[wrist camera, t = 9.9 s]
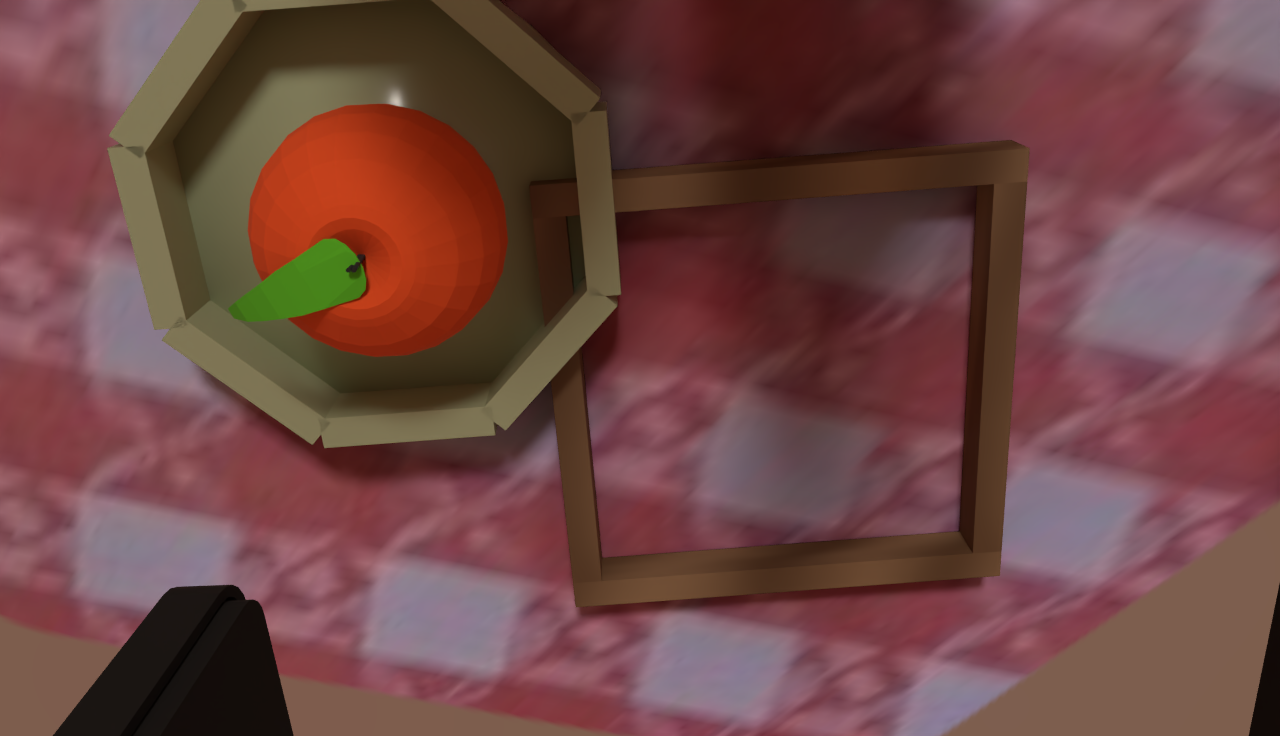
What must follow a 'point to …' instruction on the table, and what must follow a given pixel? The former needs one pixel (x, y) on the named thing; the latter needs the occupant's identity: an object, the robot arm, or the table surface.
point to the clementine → (375, 231)
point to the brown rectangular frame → (988, 374)
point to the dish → (323, 81)
